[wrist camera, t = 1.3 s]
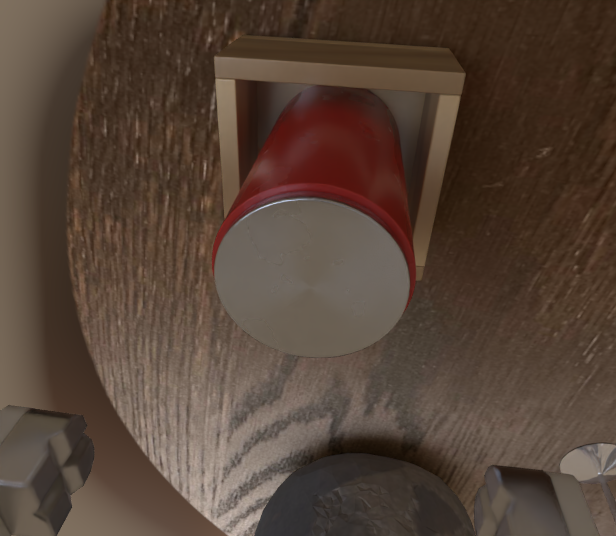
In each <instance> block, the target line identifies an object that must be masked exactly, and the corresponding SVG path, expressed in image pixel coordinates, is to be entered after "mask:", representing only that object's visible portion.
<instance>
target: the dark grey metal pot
mask: <svg viewBox="0 0 616 536" xmlns="http://www.w3.org/2000/svg"><path fill="white" fill-rule="evenodd" d="M254 536H476V535H475V532H474V529H473V526H472V523H471V520H470V518H469V516H468V514H467V512H466V509H465V508H464V506H463V504H462V503H461V501H460V500H459V498H458V497H457V495H456V494H455V493H454V492H453V491H452V490H451V489H450V488H449V487H448V486H447V485H446V484H445V483H444V482H443V481H442V480H441V478H440V477H438V476H436V475H434V474H432V473H430V472H428V471H426V470H424V469H422V468H420V467H419V466H417V465H415V464H412V463H408V462H405V461H401V460H397V459H393V458H388V457H383V456H377V455H372V454H366V453H345V454H339V455H333V456H327V457H324V458H321V459H318V460H316V461H314V462H312V463H310V464H308V465H306V466H305V467H303V468H301V469H299V470H297V471H295V472H293V473H292V474H291V475H290V476H289V477H288V478H287V479H286V480H285V481H284V482H283V483H282V484H281V485H280V486H279V487H278V489H277V490H276V492H275V493H274V495H273V496H272V498H271V499H270V501H269V502H268V504H267V505H266V507H265V508H264V510H263V513H262V515H261V518H260V521H259V524H258V526H257V529H256V532H255V535H254Z"/></svg>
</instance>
